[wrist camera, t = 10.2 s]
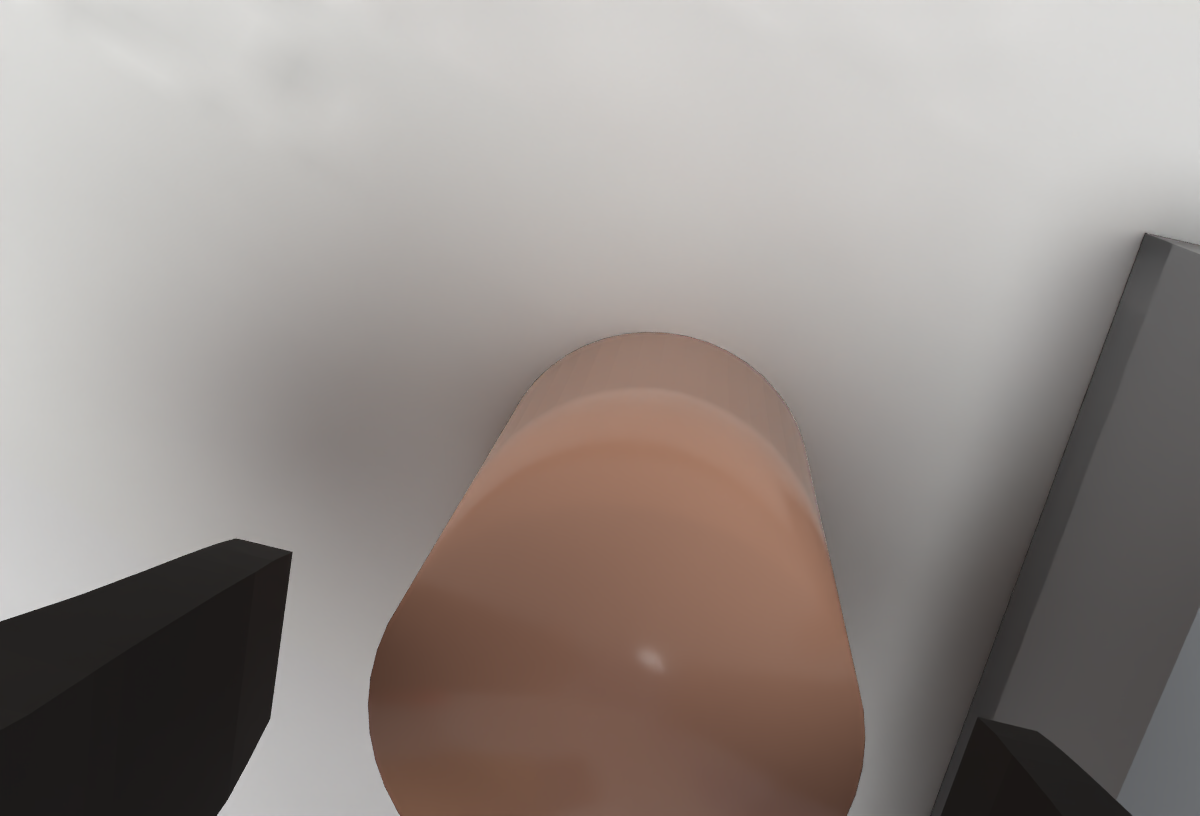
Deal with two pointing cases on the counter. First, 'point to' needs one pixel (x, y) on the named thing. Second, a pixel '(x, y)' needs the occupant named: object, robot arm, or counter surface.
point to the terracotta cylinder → (627, 609)
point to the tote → (1118, 564)
